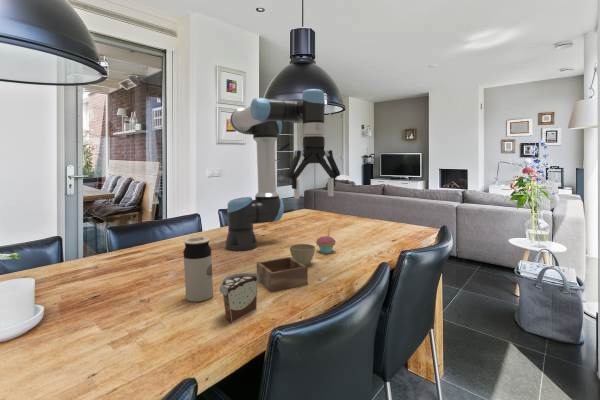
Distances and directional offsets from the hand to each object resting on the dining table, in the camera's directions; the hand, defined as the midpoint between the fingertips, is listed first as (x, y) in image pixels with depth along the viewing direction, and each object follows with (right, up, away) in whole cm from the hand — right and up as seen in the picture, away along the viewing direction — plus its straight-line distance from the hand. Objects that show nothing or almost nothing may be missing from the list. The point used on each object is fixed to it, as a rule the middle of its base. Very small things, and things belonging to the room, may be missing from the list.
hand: (314, 197), depth 117 cm
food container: (-22, -32, -27) cm, 48 cm away
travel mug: (-36, -31, -16) cm, 50 cm away
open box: (-11, -29, -5) cm, 31 cm away
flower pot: (-4, -27, +14) cm, 30 cm away
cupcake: (+6, -24, +30) cm, 39 cm away
